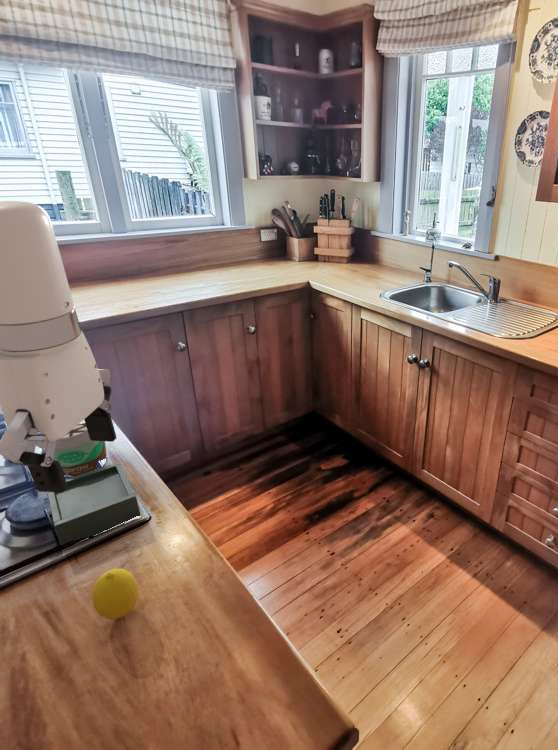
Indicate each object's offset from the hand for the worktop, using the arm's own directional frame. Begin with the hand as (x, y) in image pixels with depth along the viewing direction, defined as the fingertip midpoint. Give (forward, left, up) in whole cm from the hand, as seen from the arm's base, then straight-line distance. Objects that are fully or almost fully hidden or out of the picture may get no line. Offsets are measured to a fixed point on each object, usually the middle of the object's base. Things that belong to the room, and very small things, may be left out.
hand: (80, 463), depth 56 cm
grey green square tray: (0, +23, -25) cm, 34 cm away
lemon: (-1, -1, -26) cm, 26 cm away
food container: (0, +37, -26) cm, 45 cm away
